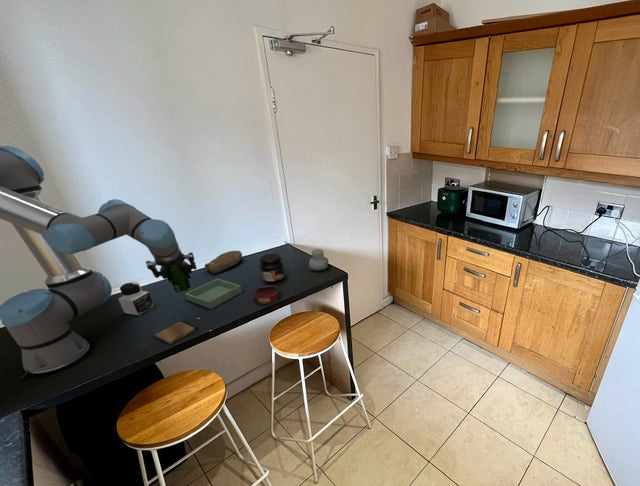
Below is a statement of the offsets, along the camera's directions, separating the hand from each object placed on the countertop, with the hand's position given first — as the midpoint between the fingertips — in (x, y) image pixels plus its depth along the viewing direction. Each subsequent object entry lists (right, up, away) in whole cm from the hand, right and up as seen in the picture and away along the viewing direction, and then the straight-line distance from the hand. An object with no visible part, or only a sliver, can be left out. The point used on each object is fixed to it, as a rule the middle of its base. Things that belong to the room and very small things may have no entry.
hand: (179, 277), depth 120 cm
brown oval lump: (-7, +4, +46) cm, 47 cm away
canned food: (+26, -10, +17) cm, 33 cm away
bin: (+3, -9, +19) cm, 21 cm away
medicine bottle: (-23, -14, +9) cm, 28 cm away
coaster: (+2, -21, -5) cm, 21 cm away
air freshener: (+43, +3, +44) cm, 61 cm away
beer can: (+2, -5, -1) cm, 5 cm away
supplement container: (+24, -2, +33) cm, 40 cm away
